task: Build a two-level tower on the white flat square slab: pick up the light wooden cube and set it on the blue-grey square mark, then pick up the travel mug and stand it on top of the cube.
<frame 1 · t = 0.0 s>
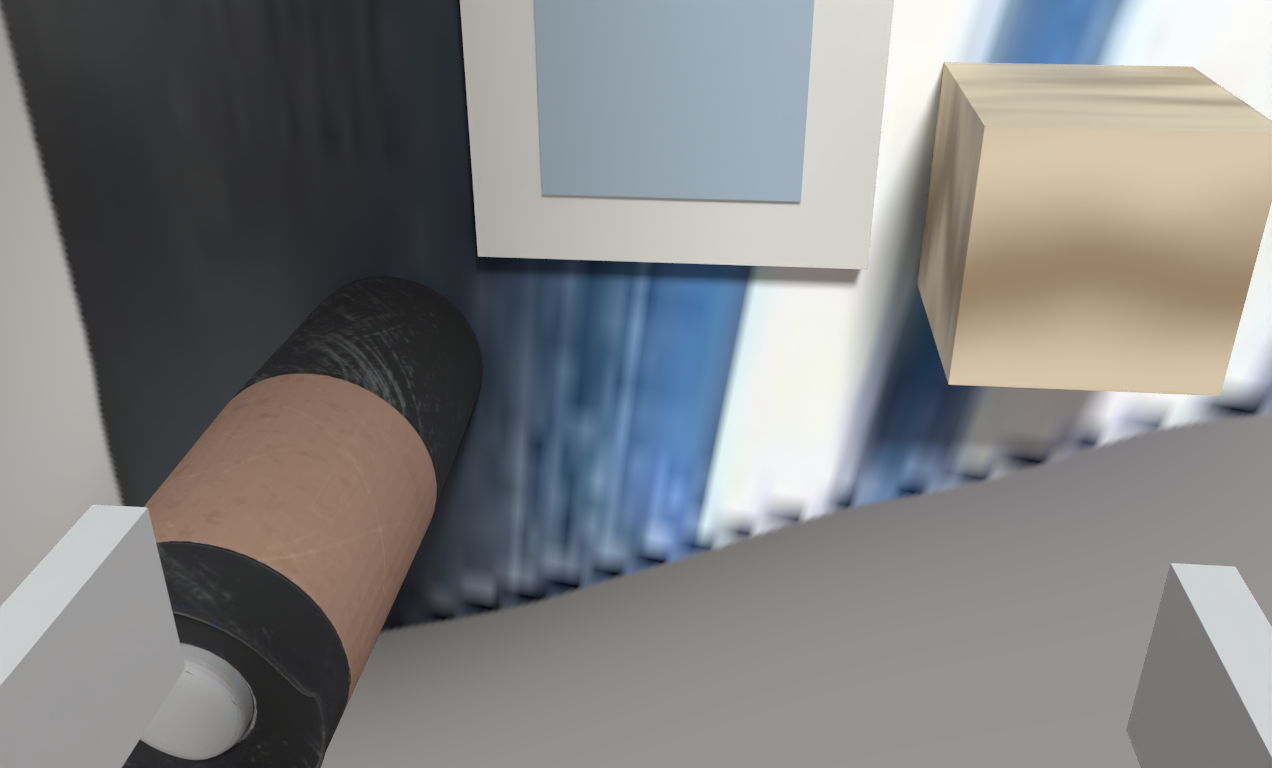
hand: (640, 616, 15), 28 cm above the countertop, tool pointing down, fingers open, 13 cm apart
wooden cube: (1046, 180, 40), on the countertop
white flat square slab: (674, 57, 39), on the countertop
travel mug: (396, 356, 46), on the countertop
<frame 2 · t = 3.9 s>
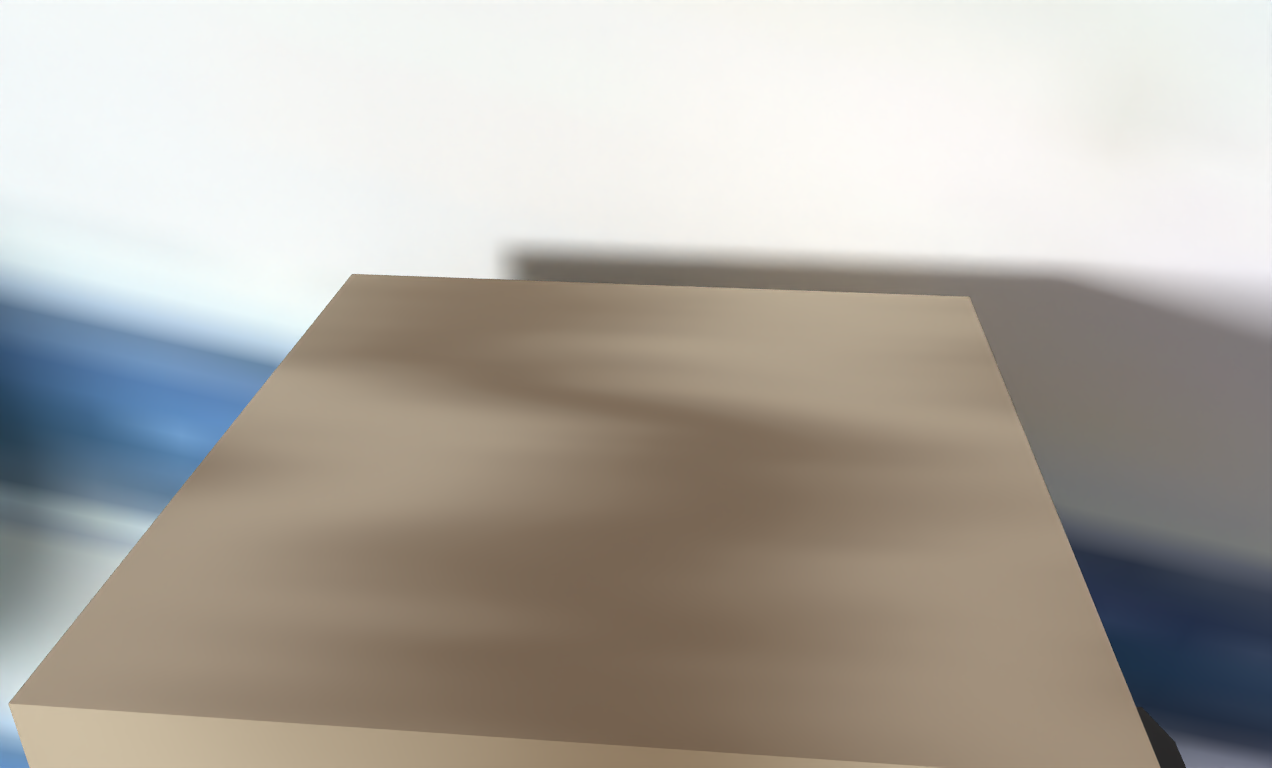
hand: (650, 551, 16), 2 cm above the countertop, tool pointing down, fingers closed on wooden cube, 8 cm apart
wooden cube: (651, 539, 17), point 2 cm above the countertop, touching gripper
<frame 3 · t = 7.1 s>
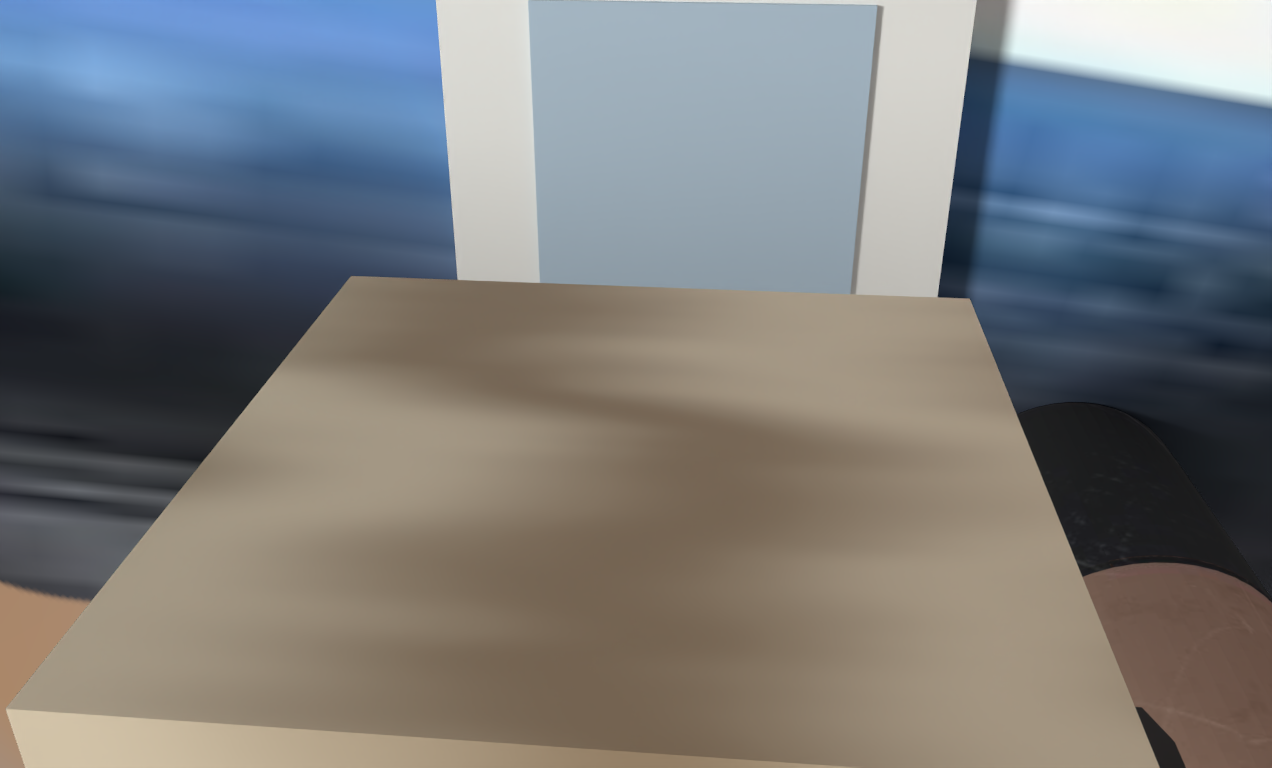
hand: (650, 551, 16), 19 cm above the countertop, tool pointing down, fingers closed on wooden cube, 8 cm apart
wooden cube: (651, 541, 17), point 19 cm above the countertop, touching gripper
white flat square slab: (698, 157, 33), on the countertop
travel mug: (1058, 493, 38), on the countertop
when the fingers open (2 cm above the countertop, at t = 10.3 s): wooden cube stays where it is, resting on white flat square slab.
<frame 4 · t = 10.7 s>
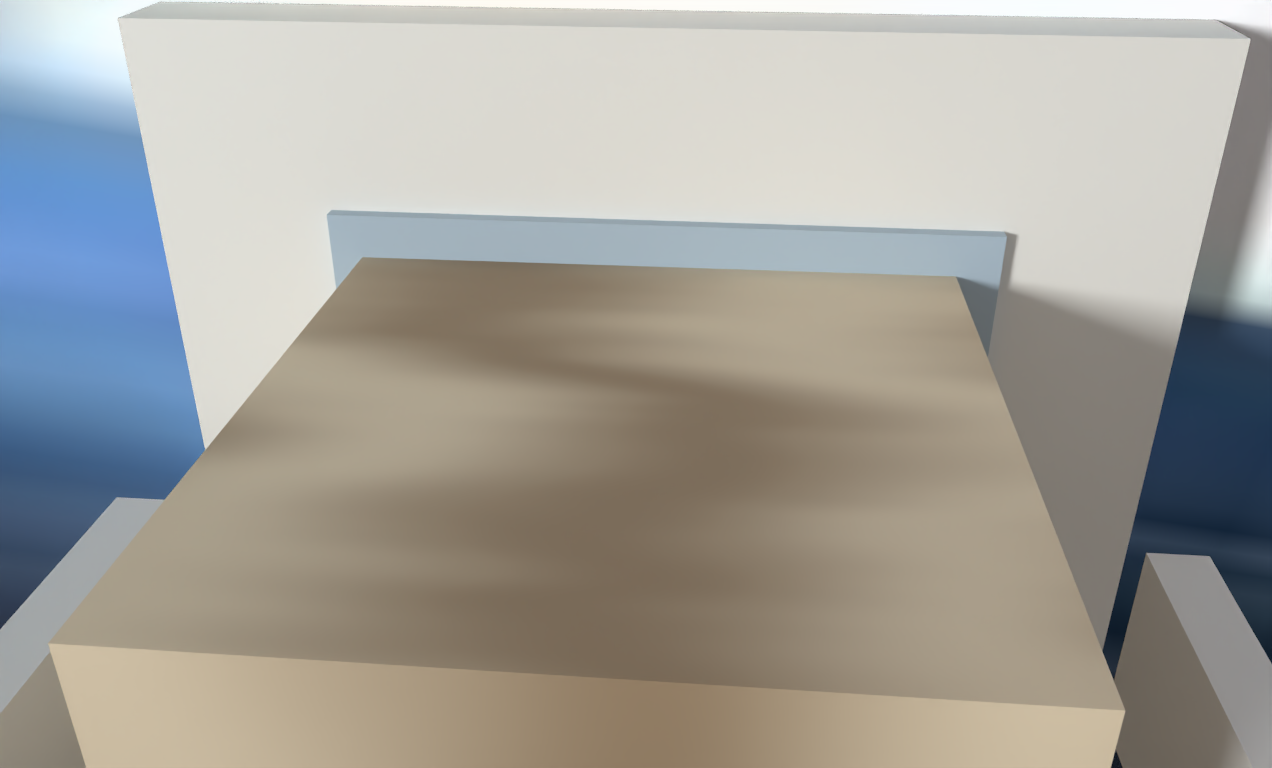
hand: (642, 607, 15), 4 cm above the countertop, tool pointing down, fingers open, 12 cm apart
wooden cube: (651, 514, 17), point 1 cm above the countertop, touching white flat square slab
white flat square slab: (662, 460, 19), on the countertop
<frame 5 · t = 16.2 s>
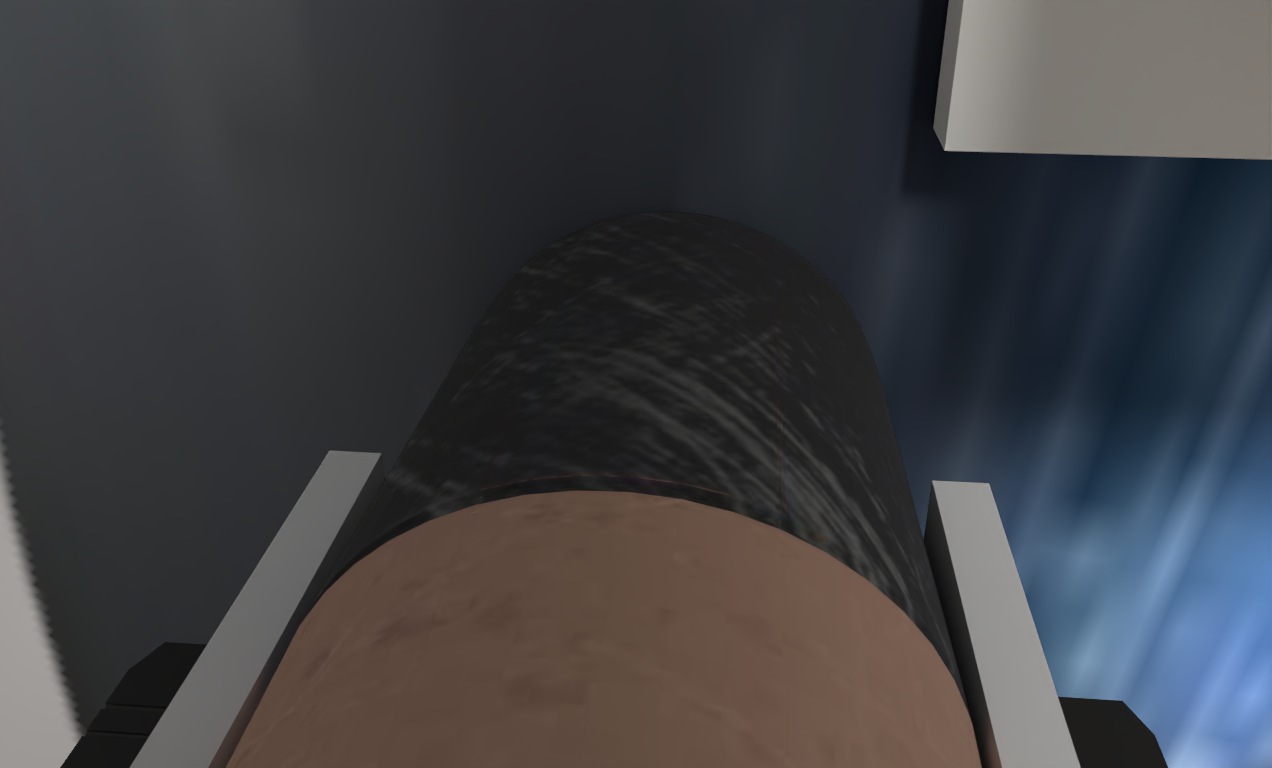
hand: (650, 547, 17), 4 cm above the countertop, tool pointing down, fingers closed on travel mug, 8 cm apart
travel mug: (671, 396, 20), on the countertop, touching gripper
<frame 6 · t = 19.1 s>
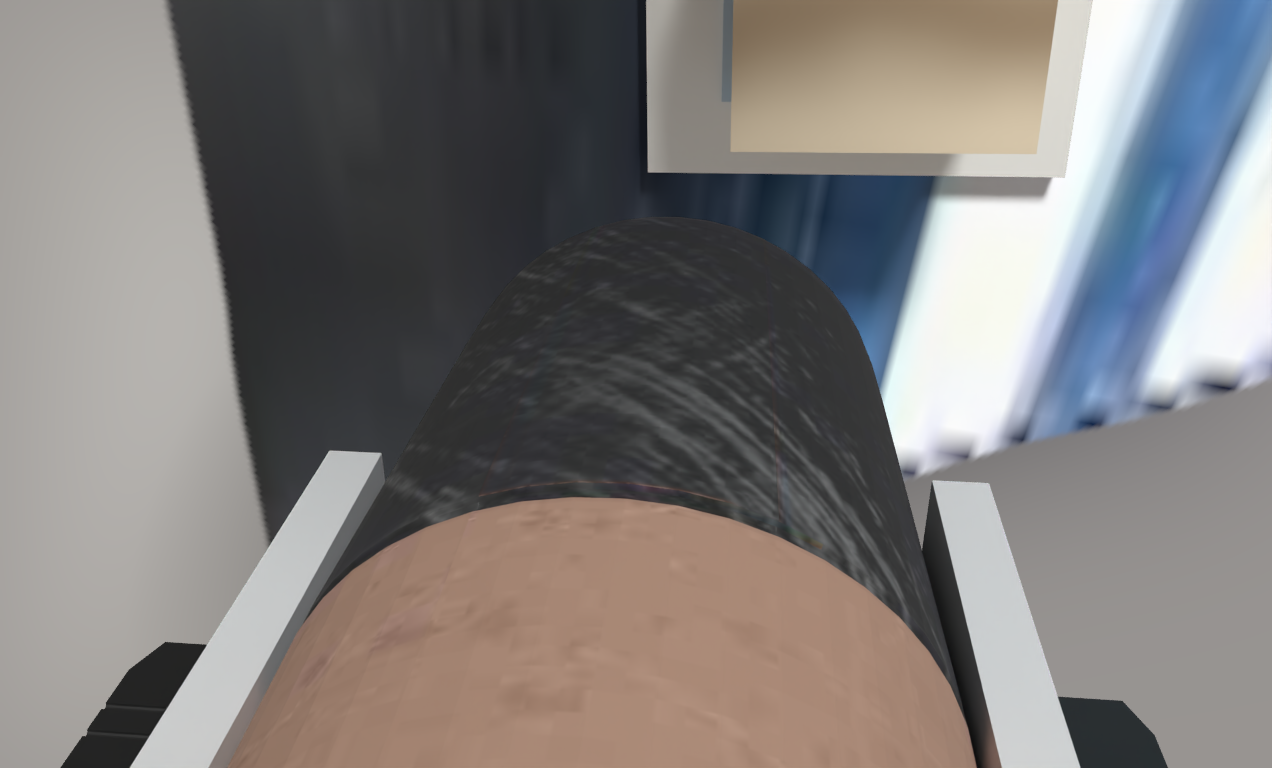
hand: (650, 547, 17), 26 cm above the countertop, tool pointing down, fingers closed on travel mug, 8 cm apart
travel mug: (669, 400, 20), point 22 cm above the countertop, touching gripper
when the fingers open (15 cm above the countertop, at t = 22.3 s): travel mug drops 1 cm, resting on wooden cube.
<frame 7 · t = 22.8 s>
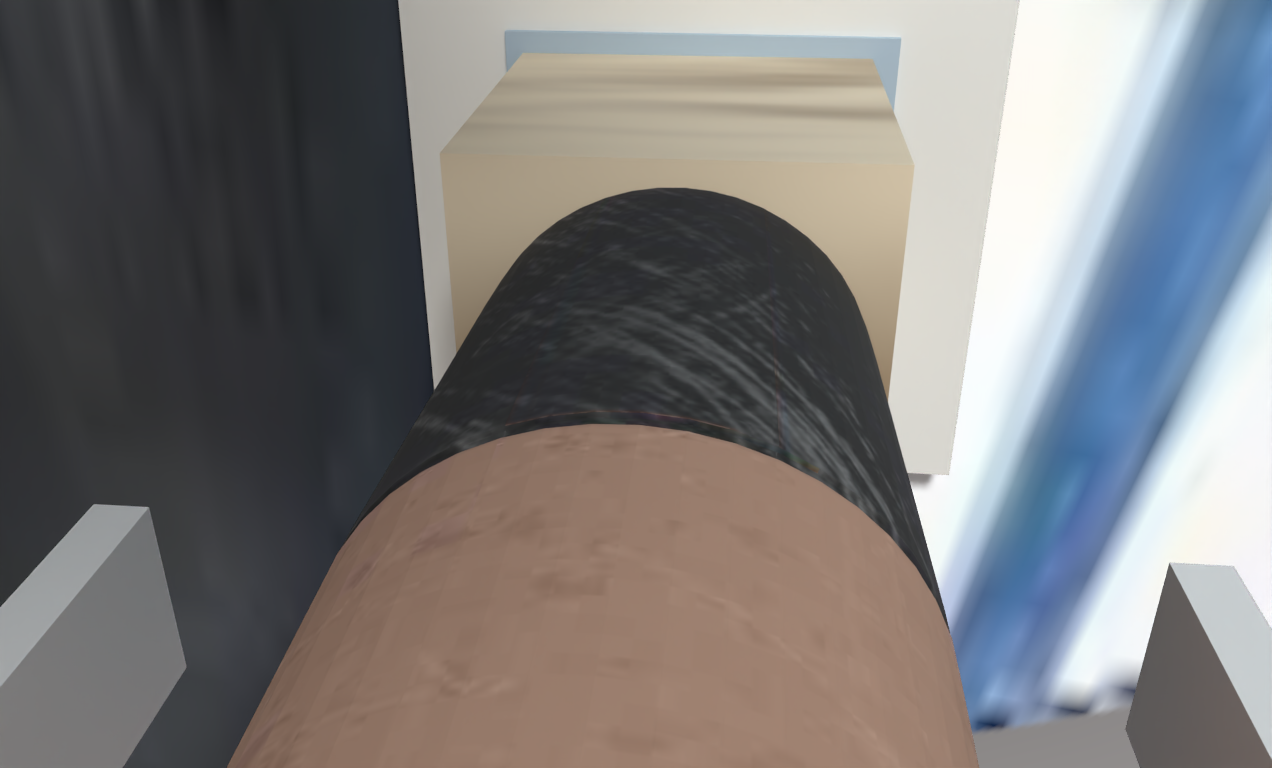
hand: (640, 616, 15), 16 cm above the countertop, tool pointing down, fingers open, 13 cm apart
wooden cube: (692, 221, 28), point 1 cm above the countertop, touching white flat square slab, travel mug
white flat square slab: (698, 204, 30), on the countertop
travel mug: (675, 364, 22), point 9 cm above the countertop, touching wooden cube
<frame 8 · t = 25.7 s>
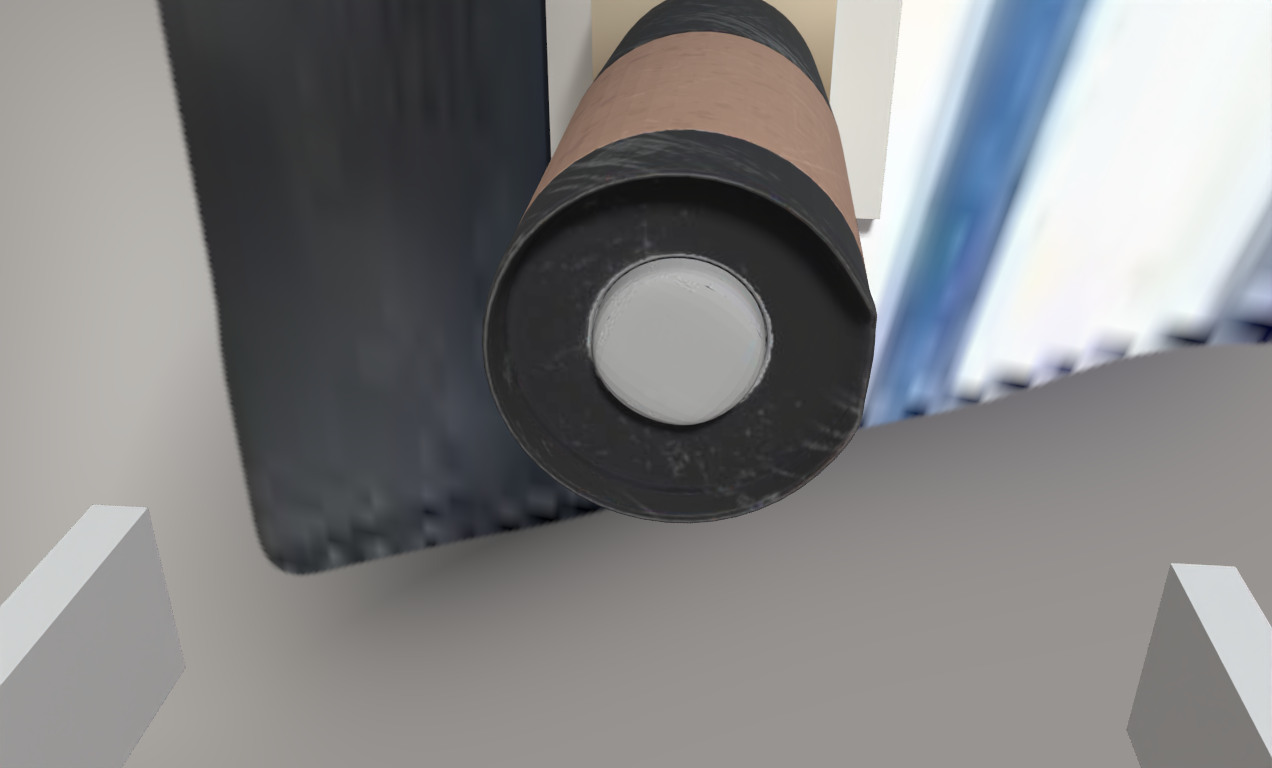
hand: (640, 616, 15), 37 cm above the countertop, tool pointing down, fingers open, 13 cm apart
wooden cube: (717, 47, 46), point 1 cm above the countertop, touching white flat square slab, travel mug
white flat square slab: (720, 41, 47), on the countertop
travel mug: (712, 94, 39), point 9 cm above the countertop, touching wooden cube
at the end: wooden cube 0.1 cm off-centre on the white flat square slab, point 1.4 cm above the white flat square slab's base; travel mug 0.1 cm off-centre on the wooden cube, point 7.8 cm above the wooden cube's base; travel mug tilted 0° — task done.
